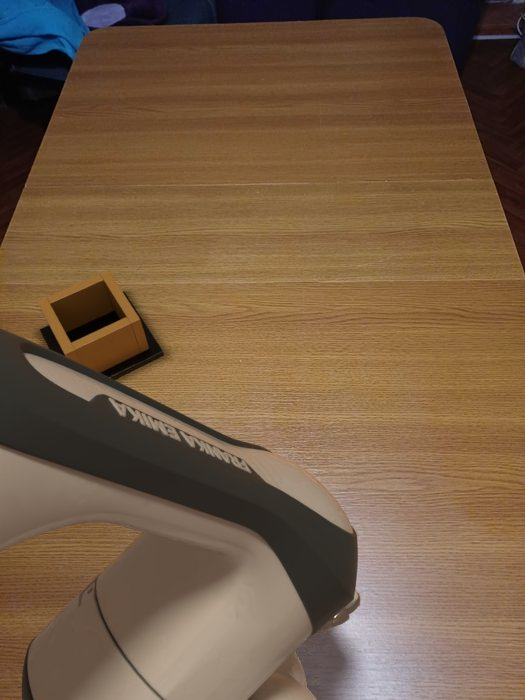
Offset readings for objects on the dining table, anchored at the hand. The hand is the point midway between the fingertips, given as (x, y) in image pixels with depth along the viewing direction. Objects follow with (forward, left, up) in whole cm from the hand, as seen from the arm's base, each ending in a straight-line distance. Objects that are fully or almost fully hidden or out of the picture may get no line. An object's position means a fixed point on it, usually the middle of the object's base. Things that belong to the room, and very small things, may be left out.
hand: (202, 571), depth 55 cm
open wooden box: (+3, +34, -7) cm, 35 cm away
